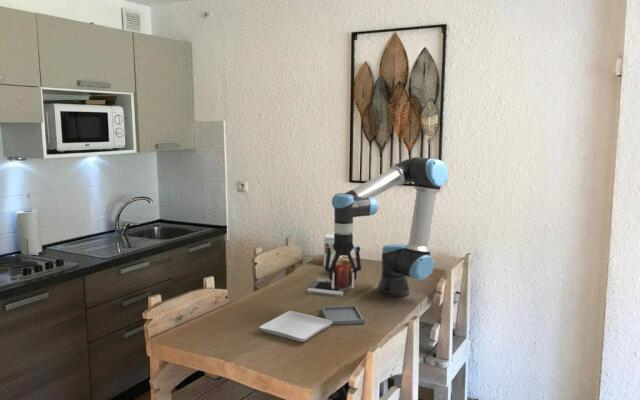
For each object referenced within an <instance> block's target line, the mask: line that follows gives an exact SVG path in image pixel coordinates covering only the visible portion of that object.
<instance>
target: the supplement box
mask: <svg viewBox="0 0 640 400" xmlns="http://www.w3.org/2000/svg"><path fill="white" fill-rule="evenodd" d="M334 234H335V233H326V235H325V236H324V237H323V238H324V240H323V241H324V242H323V243H324V244H323V245H324V246H323V267H325V263H326V256H327V249H326V247H327V246H328V247H331V246H333V245H334ZM335 253H336V251H335V250H334V249H333V250H332V252H331V257H330V263H329V268H330V266H331V263H332V262H331V261H332V260H333V259H334V256H335ZM341 257H343V255H342V256H339V258H341Z"/></svg>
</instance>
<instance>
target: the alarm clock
mask: <svg viewBox="0 0 640 400" xmlns="http://www.w3.org/2000/svg"><path fill="white" fill-rule="evenodd" d="M331 281H332V280H330V279H329V278H321V277H317V279H316V280H315V281H314V282H313V283H312V284H311V285H310V286H309V287H308V288H307V290H306V293H307V294H310V295H311V294H312V295H316V296H317V295H318V296H326V297H337V298H342V297H344V294H345V293H346V291H347V290H350V289H352V287H351V284H350V287H348V288H345V289H339V288H336V287H335V286H334V289H332V287H331Z"/></svg>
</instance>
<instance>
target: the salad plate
mask: <svg viewBox="0 0 640 400" xmlns="http://www.w3.org/2000/svg"><path fill="white" fill-rule="evenodd" d="M331 324H332V321H330V320H327V319H325V318H324V317H318V316H315V315H311V314H308V313H302V312H298V311H293V310H288V311H286V312H284V313H283V314H279V315H278V316H277V317H275V318H273V319H271V320H269V321H267V322H265V323H263V324H261V325H260V326H259V329H260V330H261V331H263V332H264V333H267V334H271V335H273V336H278V337H282V338H284V337H285V339H289V340H293V341H296V342H300V343H302V342H306V341H308V340H309V339H310V338H312V337H313V336H315V335H317V334H319V333H320V332H322V331H323V330H325V329H326V328H328V327H330V325H331Z"/></svg>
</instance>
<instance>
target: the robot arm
mask: <svg viewBox="0 0 640 400" xmlns="http://www.w3.org/2000/svg"><path fill="white" fill-rule="evenodd" d="M448 177H449V171H448V168H447V166H446V164H445V162H444V161H442V160H440V159H436V158H428V157H427V158H426V157H410V158H407V159H404V160H402V161H400V162H397V163H396V164H394V165H391V166H390V168H389V170H387V171H385V172H382V173H381V174H380V175H377V176H375V177H374V178H371V179H370V180H368V181H366V182H364V183H362V184H360V185H358V186H356V187H354V188H352V189H350V190H348V191H347V192H338V193H335V194H334V195H333V196H332V198H331V205H332V207H333V209H334V213H333V215H334V216H333V217H334V221H333V222H334V225H333V227H334V228H333V230H334V231H333V232H334V233H333V234H334V245H333V246H331V247H328V246H327V247H326V249H327V256H326V263H325V266H324V270H325V272H328V279H330V280H332V281H331V287H332V289H334V271H333V270H334V267H335V265H336V263H337V260H338V258H339V256H342V257H343V256H345V257H346V256H347V259H349V261H350V263H351V264H352V268H351V289H355V280H357V272H359V271H362V264H361V255H360V251H361V247H360V246H359V245H354V244H353V239H354V236H353V235H354V234H353V231H354V218H357V217H358V218H359V217H360V218H361V217H369V216H373V215H376V214H377V212H378V211H379V210H378V207H379V204H378V201H377V200H376V198H375V197H377V196H379V195H380V194H383V193H385V192H386V191H388V190H390V189H392V188H394V187H395V186H402V185H404V184H408V183H414V184H413V188H414V189H415V191H416V192H415V193H416V194H415V200H414V207H413V213H412V220H411V226H410V231H409V238H408V239H409V240H408V243H407V244H405V243H391V244H386V245H384V246H383V247H382V251H381V252H382V253H381V277H380V280H379V282H378V284H377V285H378V286H377V293H378V295H382V296H386V297H391V298H392V297H393V298H399V297H405V296H409V295H410V294H411V293H410V291H411V289H410V285H409V282H408V277H409V278H411V279H413V280H416V281H417V280H418V281H422V280H426V279H427V278H428V277H429V276H430V275H432V273H433V271H434V267H435V261H434V259H433V257H432V256H431V252H432V251H431V249H430V247H429V240H430V235H431V228H432V221H433V216H434V215H433V214H434V208H435V203H436V196H437V194H438V193H439V192H440V191H441V187H442V186H444V185H445V184H446V183H447V181H448ZM333 249H334V250H335V251H336V253H335V256H334V259H333V261H332V263H331V266H330V267H329V263H330V257H331V252H332V250H333ZM353 250H354V253H355V260H356V265H355V262H354V260H353V256H352V253H351V252H352V251H353Z"/></svg>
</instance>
